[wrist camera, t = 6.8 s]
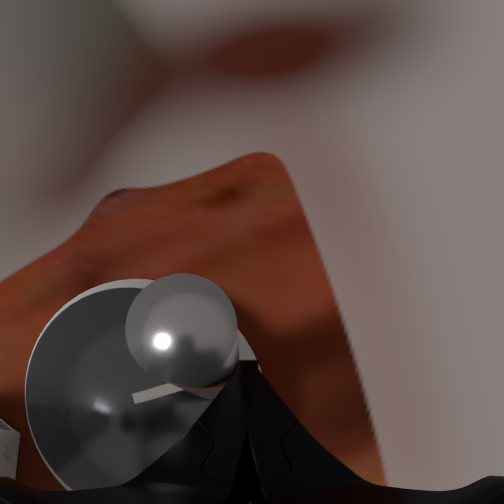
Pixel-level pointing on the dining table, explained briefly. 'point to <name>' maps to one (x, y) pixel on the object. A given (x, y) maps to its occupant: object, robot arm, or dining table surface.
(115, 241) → the dining table surface
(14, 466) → the syrup box
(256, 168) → the dining table surface
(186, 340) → the dial
